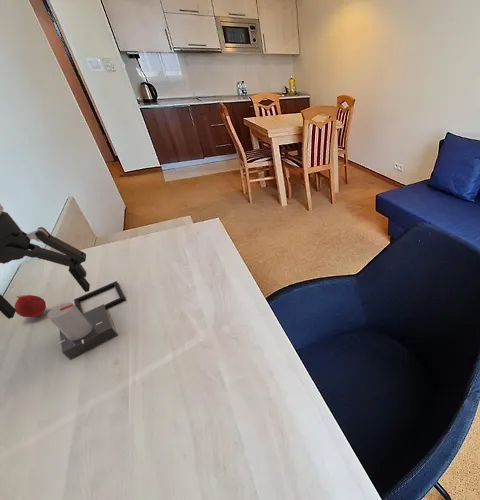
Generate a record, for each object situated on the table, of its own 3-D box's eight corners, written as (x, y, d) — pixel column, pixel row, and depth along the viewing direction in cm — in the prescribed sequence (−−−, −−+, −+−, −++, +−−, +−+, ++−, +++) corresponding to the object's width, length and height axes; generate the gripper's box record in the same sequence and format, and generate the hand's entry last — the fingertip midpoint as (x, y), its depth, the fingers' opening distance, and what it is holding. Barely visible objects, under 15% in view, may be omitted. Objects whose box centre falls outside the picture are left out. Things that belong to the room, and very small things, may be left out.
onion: (51, 305, 88) (32, 284, 84) (53, 314, 85) (34, 294, 80) (25, 316, 85) (4, 295, 81) (26, 327, 82) (5, 306, 77)
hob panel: (62, 333, 79) (55, 325, 77) (109, 311, 84) (103, 303, 82) (67, 363, 71) (58, 355, 69) (118, 336, 76) (112, 328, 75)
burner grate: (76, 302, 89) (73, 299, 88) (118, 283, 94) (116, 280, 94) (80, 322, 82) (78, 318, 81) (126, 300, 88) (124, 297, 87)
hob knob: (67, 344, 71) (44, 320, 67) (69, 331, 75) (47, 307, 70) (92, 334, 74) (71, 310, 69) (93, 321, 77) (73, 298, 72)
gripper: (64, 193, 64) (115, 271, 76) (-110, 233, 53) (-18, 315, 66) (59, 205, 58) (115, 287, 71) (-134, 252, 48) (-29, 338, 60)
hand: (51, 301), depth 68 cm, fingers open, 13 cm apart
